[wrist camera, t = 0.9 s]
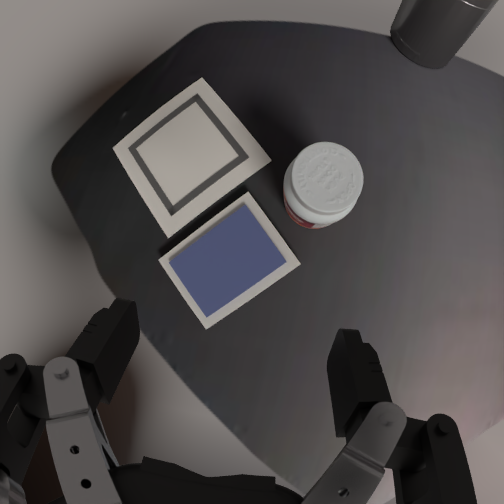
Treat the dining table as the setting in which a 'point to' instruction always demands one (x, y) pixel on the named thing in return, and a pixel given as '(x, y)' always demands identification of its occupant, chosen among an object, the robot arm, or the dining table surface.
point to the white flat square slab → (189, 156)
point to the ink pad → (228, 260)
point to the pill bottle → (322, 185)
